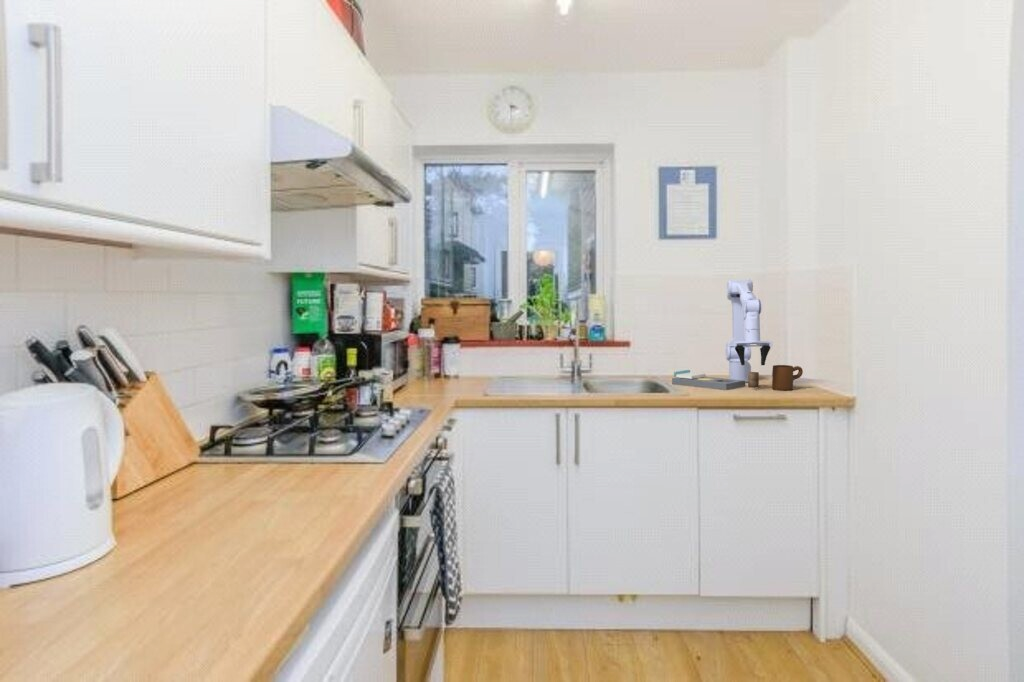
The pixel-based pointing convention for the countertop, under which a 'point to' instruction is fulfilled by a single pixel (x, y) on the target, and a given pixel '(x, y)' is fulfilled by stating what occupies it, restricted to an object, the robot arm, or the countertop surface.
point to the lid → (688, 374)
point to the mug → (784, 377)
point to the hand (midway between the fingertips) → (752, 365)
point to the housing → (710, 382)
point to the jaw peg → (753, 379)
